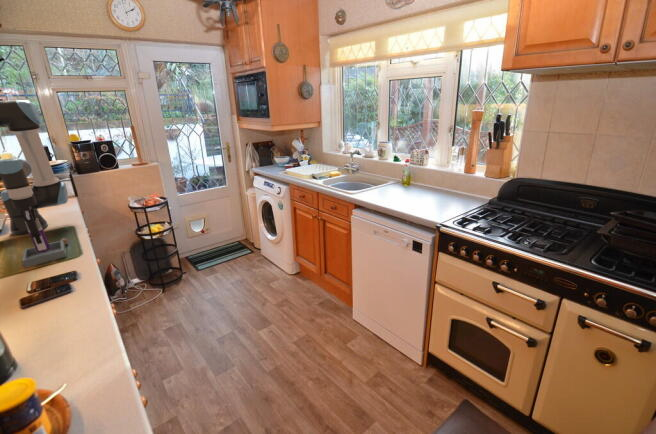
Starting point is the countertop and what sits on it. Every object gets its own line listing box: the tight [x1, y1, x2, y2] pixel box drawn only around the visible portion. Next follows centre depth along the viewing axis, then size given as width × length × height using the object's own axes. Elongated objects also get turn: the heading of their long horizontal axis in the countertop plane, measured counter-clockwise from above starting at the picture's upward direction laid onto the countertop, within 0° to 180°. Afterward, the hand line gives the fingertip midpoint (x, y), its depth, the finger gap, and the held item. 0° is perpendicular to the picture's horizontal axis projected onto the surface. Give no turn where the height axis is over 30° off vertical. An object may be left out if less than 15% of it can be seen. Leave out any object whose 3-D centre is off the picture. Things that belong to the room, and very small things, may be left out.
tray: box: [21, 239, 67, 268], centre depth 146 cm, size 14×14×3 cm
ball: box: [59, 237, 69, 246], centre depth 157 cm, size 3×3×3 cm
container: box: [25, 218, 51, 254], centre depth 143 cm, size 5×5×15 cm
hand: (42, 247), depth 145 cm, fingers closed on container, 5 cm apart
